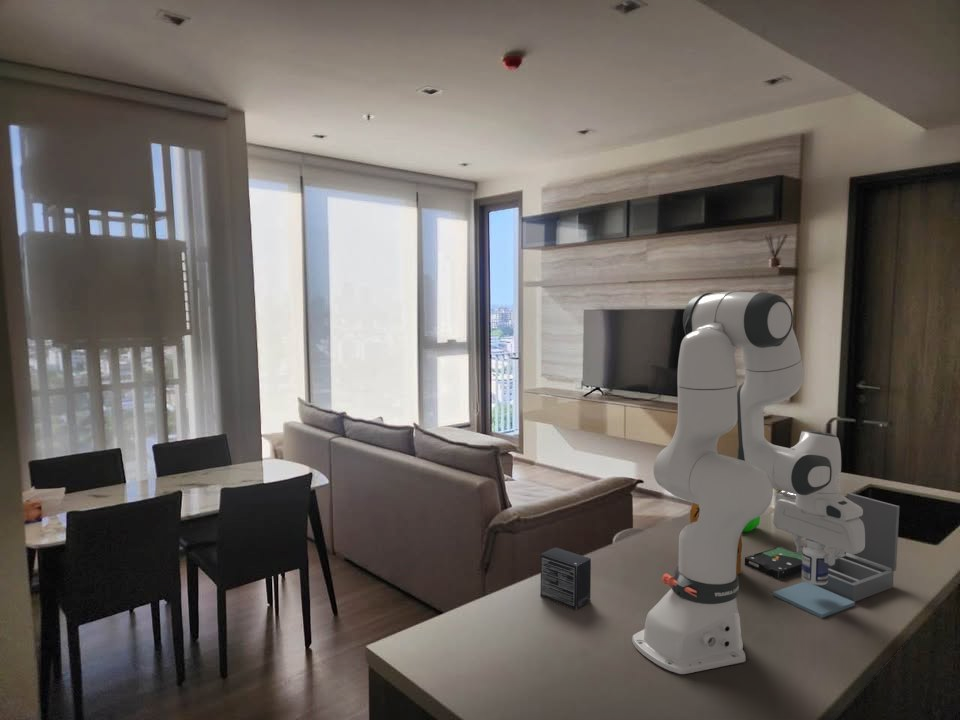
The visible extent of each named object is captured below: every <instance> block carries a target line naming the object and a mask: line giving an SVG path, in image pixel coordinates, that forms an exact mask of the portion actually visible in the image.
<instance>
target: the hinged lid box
mask: <svg viewBox="0 0 960 720" xmlns="http://www.w3.org/2000/svg"><path fill="white" fill-rule="evenodd" d="M846 498H847V499H849V500H850V501H852V502H853V503H855V504H857V505H858V506H860V507H861V508H862V509H863V515H862V516H860V517H858V518H860V519H861V520H862V522H863V524H864V529H865V548H864V550H863V551H862V552H860V553H857V554H854V555H852V554H849V553H846V552H843V553H842V554H838V555H837V556H836V557H835V564H834V565H832V566H830V565H828V583H827V584H825V585H816V586H818V587H821V588H823V589H825V590H828V591H830V592H832V593H835V594H837V595H839V596H842V597H844V598H847V599H849V600H851V601H854V602H855V603H856V602H858V601H861V600H863V599H865V598H868V597H871V596H874V595H876V594H879V593H882V592H884V591H887V590H889V589H893V588H894V574H895V573H894V572H896V571H897V561H898V559H897V557H898V541H899V538H898V537H899V524H900V523H899V522H900V521H899V519H900V505H896V504H892V503H888V502H886V501H885V502H884V501H881V500H877V499H874V498H870V497H866V496H862V495H859V494H856V493H851V492H847V493H846ZM803 582H805V581H804V580H803ZM813 585H815V584H813Z"/></svg>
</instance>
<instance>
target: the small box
mask: <svg viewBox="0 0 960 720" xmlns="http://www.w3.org/2000/svg"><path fill="white" fill-rule="evenodd" d="M539 556H540V597H541V598H543V599H547V600H549V601H552V602H554V601H555V602H554V603H557V602H558V603H557V604H559V603H560V604H559V605H562V606H564V605H565V607H567V606H568V607H567V608H569V607H570V609H572V608H573V609H572V610H574V609H575V610H574V611H577V610H580V608H582V607H583V606H585V605H586V604H588V603H590V602H591V585H592V583H591V575H592V571H591V569H592V567H591V566H592V558H591V557H588V556H584V555H582V554H579V553H574V552H571V551H568V550H565V549H562V548H559V547H553V548H552V547H551V549H548V550H546V551H544V552H542V553H540V555H539Z"/></svg>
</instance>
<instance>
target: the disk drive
mask: <svg viewBox="0 0 960 720" xmlns="http://www.w3.org/2000/svg"><path fill="white" fill-rule="evenodd" d="M744 566H745V567H749V568H750V567H751V568H750V569H753V570H755V571H757V570H758V572H760V573H763V574H764V573H765V574H764V575H767V576H769V577H771V576H772V578H774V579H776V580H779V581H780V580H782V579H786V578H787V577H791V576H794V575H796V574H799V573H802V554H799V553H797V552H795V551H792V550H788V549H786V548H785V547H782V546H781V547H775V548H771V549H769V550H768V549H767V550H764V551H761V552H757V553H754V554H751V555H748V556H747V555H746V556H745V557H744Z"/></svg>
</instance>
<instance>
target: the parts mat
mask: <svg viewBox="0 0 960 720" xmlns="http://www.w3.org/2000/svg"><path fill="white" fill-rule="evenodd" d="M772 596H774V597H775V598H778V599H780V600H782V601H784V602H787V603H789V604H791V605H793V606H795V607H797V608H799V609H801V610H803V611H805V612H808V613H810V614H812V615H814V616H816V617H819V618H820V619H822V618H826V617H829V616H831V615H833V614H836V613H839V612H841V611H844V610H846V609H850V608H852V607H854V606H855V604H856V602H854V601H851V600H849V599H847V598H844V597H842V596H839V595H837V594H835V593H832V592H830V591H828V590H825V589H823V588H821V587H818V586H816V585H813V584H810V583H807V582H804V581H802V582H799V583H796V584H793V585H790V586H787V587H784V588H781V589H778V590H776V591H773V592H772Z"/></svg>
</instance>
